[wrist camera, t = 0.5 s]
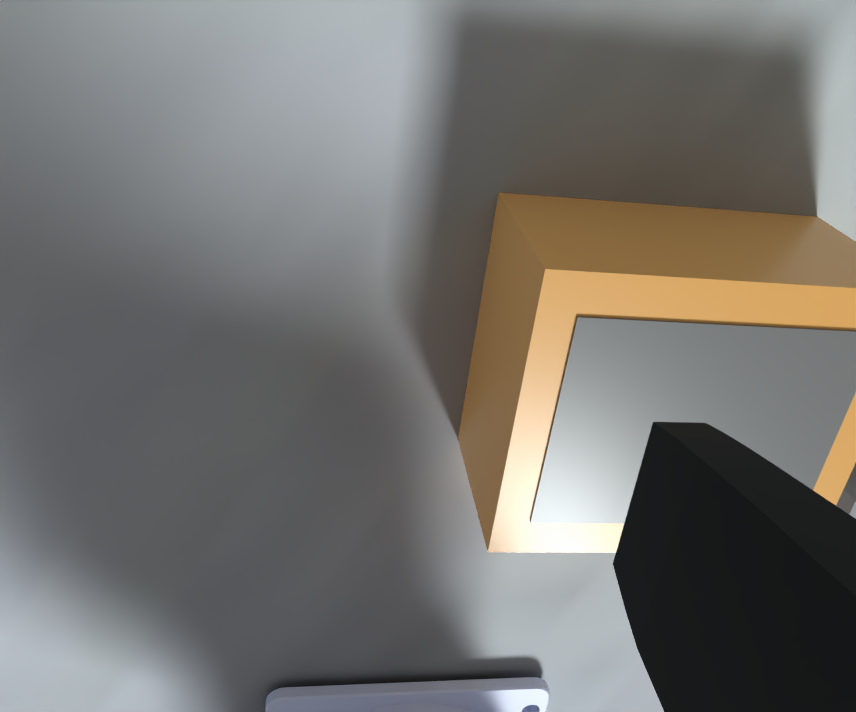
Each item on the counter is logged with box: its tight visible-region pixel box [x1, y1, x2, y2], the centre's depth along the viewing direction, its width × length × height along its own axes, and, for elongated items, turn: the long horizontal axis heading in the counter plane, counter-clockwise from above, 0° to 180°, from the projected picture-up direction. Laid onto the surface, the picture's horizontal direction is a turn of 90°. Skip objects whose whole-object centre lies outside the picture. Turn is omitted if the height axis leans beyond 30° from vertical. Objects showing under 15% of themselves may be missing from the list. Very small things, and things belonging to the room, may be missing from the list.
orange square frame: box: [458, 193, 856, 553], centre depth 17 cm, size 6×7×4 cm
